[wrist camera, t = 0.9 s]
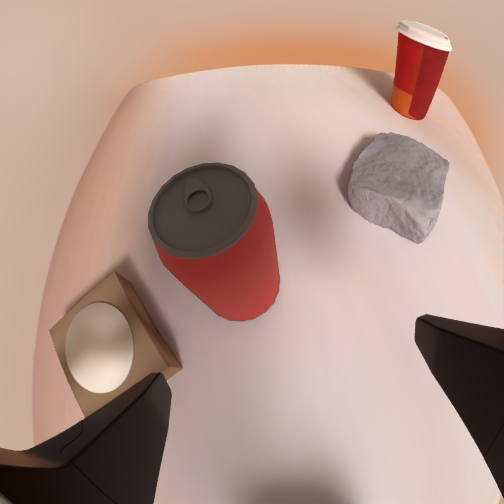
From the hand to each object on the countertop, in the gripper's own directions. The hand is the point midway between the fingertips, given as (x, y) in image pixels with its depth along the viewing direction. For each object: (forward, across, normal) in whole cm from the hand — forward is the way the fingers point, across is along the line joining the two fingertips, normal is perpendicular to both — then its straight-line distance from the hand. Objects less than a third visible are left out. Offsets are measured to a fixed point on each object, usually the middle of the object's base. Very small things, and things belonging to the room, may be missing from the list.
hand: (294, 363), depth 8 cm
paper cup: (+28, -25, -14) cm, 40 cm away
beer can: (+15, +3, +2) cm, 16 cm away
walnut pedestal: (+12, +16, +5) cm, 21 cm away
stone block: (+20, -15, -3) cm, 25 cm away
